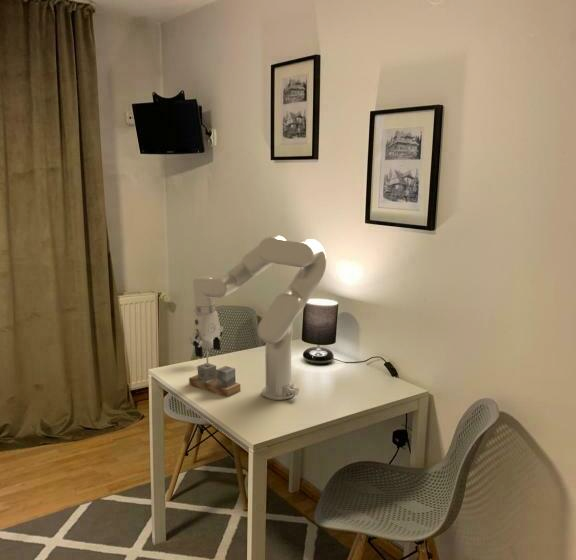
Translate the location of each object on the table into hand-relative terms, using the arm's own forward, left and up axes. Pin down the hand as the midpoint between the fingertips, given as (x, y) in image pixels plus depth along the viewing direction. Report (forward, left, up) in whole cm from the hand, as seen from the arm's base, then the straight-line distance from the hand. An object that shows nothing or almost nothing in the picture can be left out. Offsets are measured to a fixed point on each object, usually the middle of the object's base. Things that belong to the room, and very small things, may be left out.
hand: (208, 352), depth 214 cm
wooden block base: (-3, 0, -13) cm, 14 cm away
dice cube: (0, +1, -10) cm, 10 cm away
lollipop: (+16, -16, -14) cm, 26 cm away
